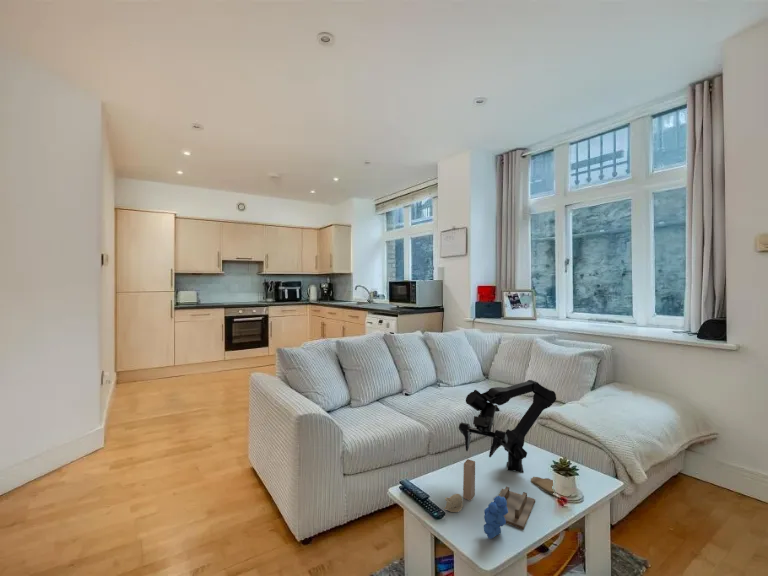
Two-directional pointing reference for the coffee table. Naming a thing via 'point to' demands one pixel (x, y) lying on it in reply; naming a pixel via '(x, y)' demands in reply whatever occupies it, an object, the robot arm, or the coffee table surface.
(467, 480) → the brown rectangular box
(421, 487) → the coffee table surface
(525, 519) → the walnut rack
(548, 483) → the pottery shard
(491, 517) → the grapes
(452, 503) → the decorative ornament
